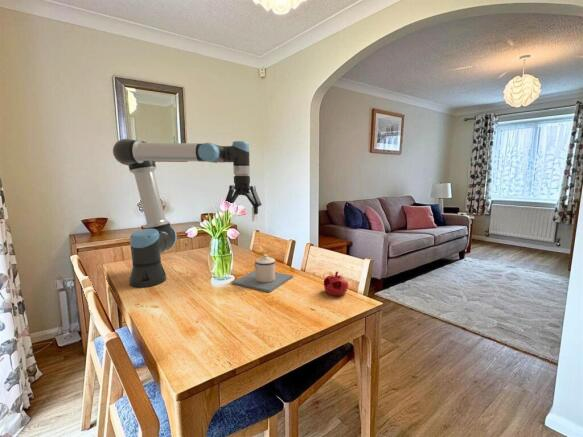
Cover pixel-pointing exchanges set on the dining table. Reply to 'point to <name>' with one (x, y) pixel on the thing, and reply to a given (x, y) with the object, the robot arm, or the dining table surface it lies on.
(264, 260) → the teacup with lid
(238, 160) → the robot arm
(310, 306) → the dining table surface
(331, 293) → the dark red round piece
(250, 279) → the slate tile
